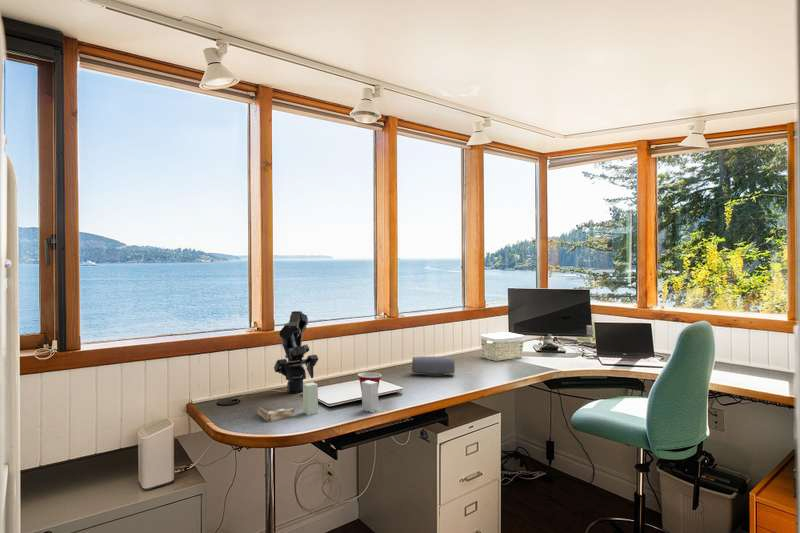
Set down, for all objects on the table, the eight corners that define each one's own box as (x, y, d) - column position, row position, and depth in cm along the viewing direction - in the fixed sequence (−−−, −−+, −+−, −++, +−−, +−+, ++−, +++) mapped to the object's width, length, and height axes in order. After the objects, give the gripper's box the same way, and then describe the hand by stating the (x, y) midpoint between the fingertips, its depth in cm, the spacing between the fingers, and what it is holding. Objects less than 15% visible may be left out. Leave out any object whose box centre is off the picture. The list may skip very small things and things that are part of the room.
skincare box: (379, 410, 203) (378, 382, 203) (371, 413, 200) (371, 384, 200) (369, 407, 208) (368, 379, 207) (361, 410, 204) (361, 381, 204)
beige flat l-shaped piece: (283, 409, 206) (283, 402, 206) (294, 415, 197) (294, 408, 197) (257, 414, 200) (257, 407, 199) (268, 421, 191) (268, 414, 191)
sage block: (312, 410, 204) (312, 382, 204) (317, 413, 201) (317, 384, 201) (303, 412, 202) (302, 383, 201) (308, 415, 198) (307, 386, 198)
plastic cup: (386, 398, 220) (386, 372, 220) (373, 405, 211) (373, 377, 210) (366, 395, 226) (366, 369, 225) (353, 401, 216) (352, 374, 216)
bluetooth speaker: (454, 373, 267) (454, 355, 267) (454, 377, 258) (454, 358, 258) (413, 372, 270) (413, 354, 269) (411, 376, 260) (411, 358, 260)
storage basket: (508, 353, 320) (508, 331, 319) (525, 358, 305) (525, 334, 305) (479, 357, 308) (479, 334, 308) (496, 362, 294) (496, 338, 294)
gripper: (276, 341, 205) (287, 372, 196) (316, 336, 216) (328, 365, 207) (269, 356, 211) (280, 387, 202) (308, 351, 222) (320, 380, 214)
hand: (302, 379), depth 206 cm, fingers open, 9 cm apart
